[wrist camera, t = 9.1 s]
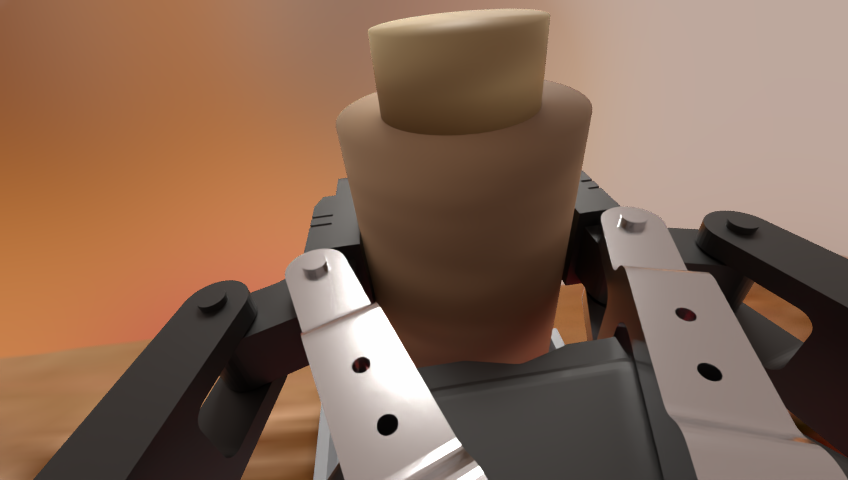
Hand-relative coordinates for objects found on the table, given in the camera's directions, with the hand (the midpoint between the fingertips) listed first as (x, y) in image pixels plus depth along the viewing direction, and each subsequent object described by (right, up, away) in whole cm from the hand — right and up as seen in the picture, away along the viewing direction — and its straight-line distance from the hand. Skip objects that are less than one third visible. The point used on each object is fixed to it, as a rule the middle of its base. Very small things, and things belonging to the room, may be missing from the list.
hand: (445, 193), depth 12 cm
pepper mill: (+1, -7, +2) cm, 7 cm away
